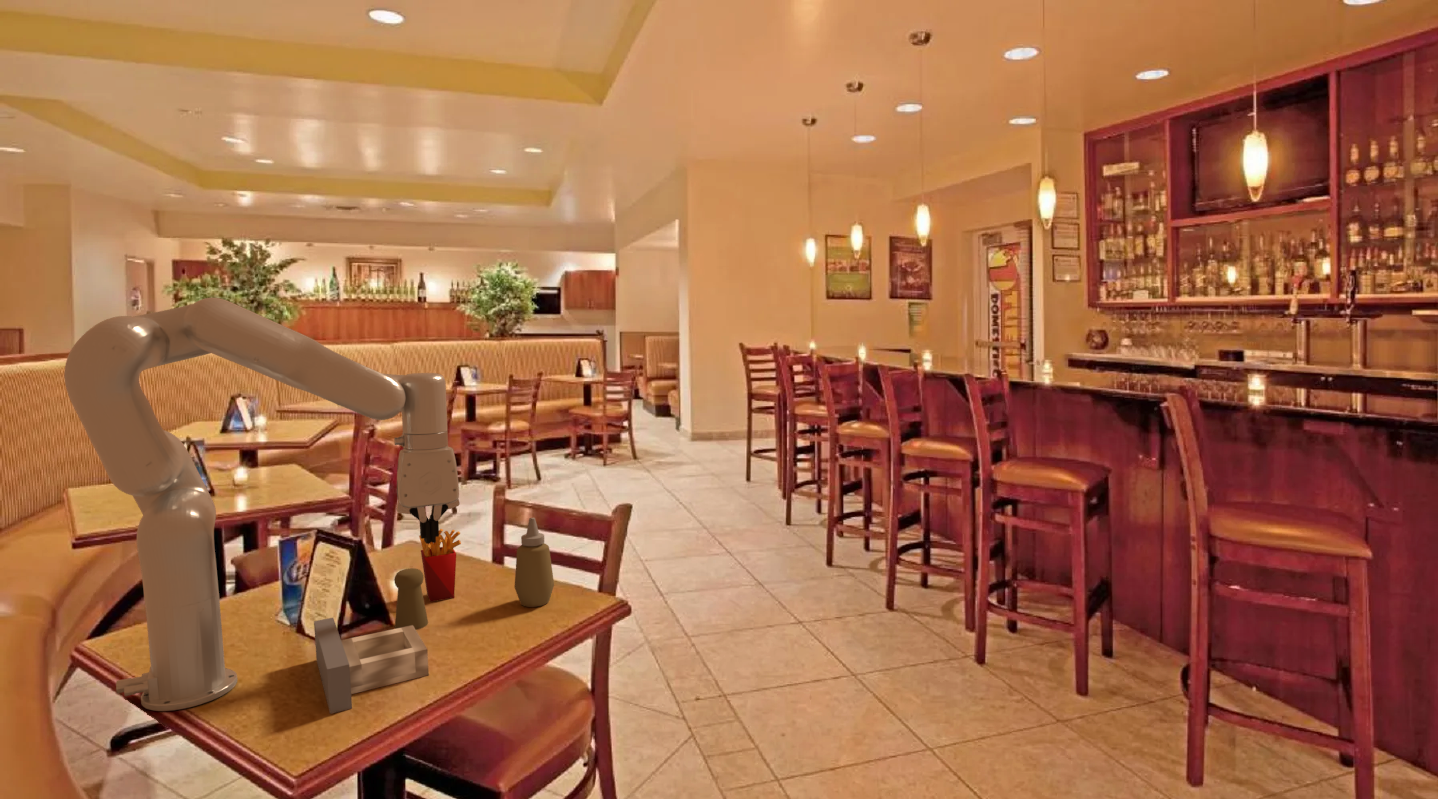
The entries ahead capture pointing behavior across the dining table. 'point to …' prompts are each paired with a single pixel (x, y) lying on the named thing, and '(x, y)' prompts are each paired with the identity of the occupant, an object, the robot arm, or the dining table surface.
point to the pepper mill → (410, 599)
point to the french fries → (440, 566)
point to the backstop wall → (332, 665)
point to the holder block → (385, 658)
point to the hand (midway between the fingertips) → (429, 541)
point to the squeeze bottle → (533, 568)
